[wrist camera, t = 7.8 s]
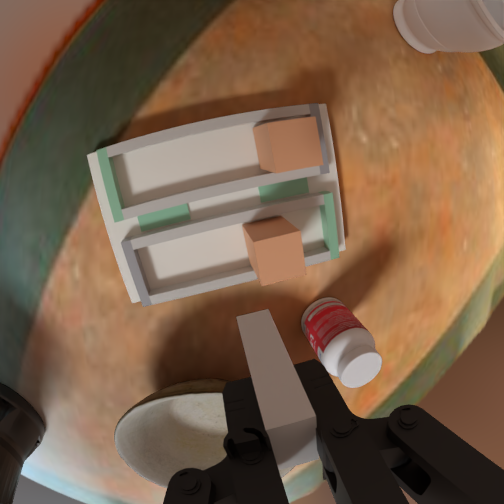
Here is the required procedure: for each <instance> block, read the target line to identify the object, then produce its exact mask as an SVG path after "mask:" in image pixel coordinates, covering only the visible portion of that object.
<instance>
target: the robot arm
mask: <svg viewBox="0 0 504 504" xmlns="http://www.w3.org/2000/svg"><path fill="white" fill-rule="evenodd" d="M236 318H237V322H238V326H239V330H240V335H241V339H242V343H243V346H244V350H245V354H246V358H247V362H248V366H249V370H250V374H251V377H249V378H245V379H241V380H236V381H232V382H227V383H226V384H225V387H224V389H223V392H222V396H223V403H224V409H225V416H226V423H227V429H228V433H227V435H226V436H225V438H224V441H223V447H224V449H225V451H226V453H227V455H226V457H225V458H224V459H223V460H222V461H221V462H219V463H218V464H216V465H214V466H212V467H209V468H207V469H205V470H203V471H202V470H201V469H197V468H185V469H182V470H180V471H178V472H176V473H175V474H174V475H173V476H172V477H171V479H170V481H169V484H168V487H167V491H166V495H165V498H164V502H163V504H289V502H288V499H287V496H286V492H285V489H284V486H283V483H282V479H281V476H280V473H279V470H282V469H285V468H289V467H293V466H296V465H300V464H303V463H307V462H310V461H313V460H316V459H319V456H320V459H321V461H322V464H323V480H325V479H327V482H328V484H329V487H330V489H331V492H332V494H333V496H334V499H335V501H336V504H409V502H408V501H407V499H406V497H405V496H404V494H403V492H402V490H401V488H402V489H403V490H404V491H405V492H406V493H407V494H409V495H410V497H411V498H413V499H414V500H415V501H416V502H417V503H418V504H504V470H503V469H501V468H500V467H499V466H497V465H496V464H495V463H493V462H492V461H491V460H489V459H488V458H486V457H485V456H484V455H483V454H481V453H480V452H479V451H477V450H476V449H475V448H473V447H472V446H471V445H469V444H468V443H466V442H465V441H464V440H463V439H461V438H460V437H458V436H457V435H456V434H455V433H453V432H452V431H451V430H449V429H448V428H447V427H445V426H444V425H443V424H441V423H440V422H439V421H438V420H436V419H435V418H434V417H432V416H431V415H430V414H428V413H427V412H426V411H425V410H423V409H422V408H420V407H418V406H415V405H403V406H400V407H398V408H396V409H394V411H393V412H392V413H391V414H390V416H389V417H384V418H377V419H364V418H360V417H358V416H356V415H354V414H353V413H352V412H351V411H350V410H349V409H348V407H347V405H346V403H345V402H344V400H343V398H342V396H341V394H340V393H339V391H338V389H337V387H336V386H335V384H334V383H333V380H332V379H331V377H330V376H329V373H328V372H327V370H326V368H325V366H324V365H323V364H321V363H320V362H318V361H317V360H315V359H312V360H309V361H306V362H302V363H299V364H295V365H293V363H292V361H291V359H290V357H289V354H288V352H287V350H286V348H285V345H284V343H283V341H282V339H281V336H280V334H279V332H278V330H277V327H276V325H275V323H274V321H273V318H272V316H271V314H270V312H269V309H265V310H261V311H257V312H253V313H249V314H245V315H241V316H237V317H236ZM44 433H45V428H44V424H43V422H42V420H41V418H40V416H39V415H38V414H37V412H36V411H35V410H34V409H33V407H32V406H31V405H30V404H29V403H28V402H27V401H26V400H24V399H23V398H22V397H21V396H20V395H18V394H17V393H16V392H14V391H13V390H11V389H10V388H8V387H6V386H5V385H3V384H1V383H0V504H12V503H13V499H14V495H15V491H16V487H17V484H18V480H19V477H20V473H21V470H22V467H23V464H24V461H25V460H26V459H27V458H28V457H29V456H30V455H31V454H32V453H33V451H34V450H35V449H36V448H37V447H38V446H39V445H40V444H41V442H42V439H43V436H44ZM318 454H319V455H318ZM399 486H400V487H401V488H400V487H399Z"/></svg>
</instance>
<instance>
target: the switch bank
mask: <svg viewBox="0 0 504 504" xmlns="http://www.w3.org/2000/svg"><path fill="white" fill-rule="evenodd" d="M306 117H316V122H317V128H318V134H319V140H320V146H321V152H322V158H323V165H320V166H314V167H308V168H303V169H297V170H292V171H286V172H281V173H273V172H270V171H267V170H263V169H260V165H259V160H258V155H257V150H256V144H255V139H254V134H253V129H252V128H254V127H257V126H260V125H263V124H265V123H270V122H277V121H284V120H291V119H298V118H306ZM87 157H88V161H89V166H90V170H91V174H92V178H93V182H94V186H95V190H96V194H97V198H98V201H99V205H100V208H101V212H102V215H103V219H104V222H105V226H106V229H107V232H108V235H109V239H110V242H111V245H112V248H113V251H114V254H115V257H116V260H117V263H118V266H119V269H120V272H121V274H122V277H123V280H124V283H125V285H126V288H127V291H128V293H129V296H130V299H131V301H132V303H135V302H139V301H141V303H142V305H143V307H144V306H149V305H153V304H158V303H162V302H166V301H170V300H175V299H179V298H183V297H187V296H191V295H196V294H200V293H204V292H208V291H212V290H216V289H220V288H224V287H228V286H232V285H236V284H240V283H244V282H248V281H252V280H256V279H258V278H257V276H256V274H255V272H254V270H253V268H252V266H251V264H250V261H249V257H248V252H247V247H246V242H245V238H244V233H243V228H242V224H246V223H250V222H255V221H259V220H263V219H268V218H272V217H276V216H282V217H283V218H285V219H286V220H287V221H289V222H290V223H291V224H292V225H294V226H295V227H296V228H297V229H299V230H300V231H301V238H302V245H303V252H304V260H305V267H306V266H310V265H313V264H317V263H321V262H325V261H328V260H332V259H336V258H339V251H343V250H346V249H345V238H344V227H343V217H342V208H341V199H340V191H339V183H338V175H337V168H336V161H335V154H334V148H333V141H332V135H331V129H330V123H329V118H328V112H327V107H326V104H318V103H313V104H303V105H294V106H286V107H278V108H271V109H264V110H258V111H252V112H246V113H240V114H234V115H229V116H224V117H219V118H214V119H209V120H204V121H200V122H195V123H191V124H186V125H182V126H178V127H174V128H170V129H166V130H162V131H158V132H155V133H151V134H147V135H144V136H140V137H137V138H134V139H130V140H127V141H124V142H120V143H117V144H114V145H111V146H108V147H105V148H102V149H99V150H96V152H94V153H91V154H89V155H87Z"/></svg>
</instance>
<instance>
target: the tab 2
mask: <svg viewBox="0 0 504 504" xmlns="http://www.w3.org/2000/svg"><path fill="white" fill-rule="evenodd" d="M242 228H243V233H244V238H245V242H246V247H247V252H248V257H249V261H250V264H251V266H252V268H253V270H254V272H255V274H256V276H257V278H258V280H259V281H260V283H261V285H262V286H265V285H269V284H273V283H277V282H281V281H284V280H288V279H292V278H296V277H299V276H303V275H306V267H305V260H304V252H303V245H302V238H301V231H300V230H299V229H297V228H296V227H295V226H294V225H292V224H291V223H290V222H289V221H287V220H286V219H285V218H283V217H282V216H276V217H272V218H268V219H263V220H259V221H255V222H250V223H246V224H242Z"/></svg>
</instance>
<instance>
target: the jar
mask: <svg viewBox="0 0 504 504" xmlns="http://www.w3.org/2000/svg"><path fill="white" fill-rule="evenodd" d="M393 16H394V21H395V24H396V26H397V28H398V30H399V32H400V34H401V35H402V37H403V38H404V39H405V40H406V42H407V43H408V44H409V45H411V46H412V47H413V48H414V49H416V50H418V51H420V52H422V53H426V54H431V53H434V52H436V51H437V50H438V51H443V52H480V51H485V50H489V49H493V48H495V47H498V46H500V45H502V44H504V0H398V1H397V2H396V3H395V5H394V9H393Z"/></svg>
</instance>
